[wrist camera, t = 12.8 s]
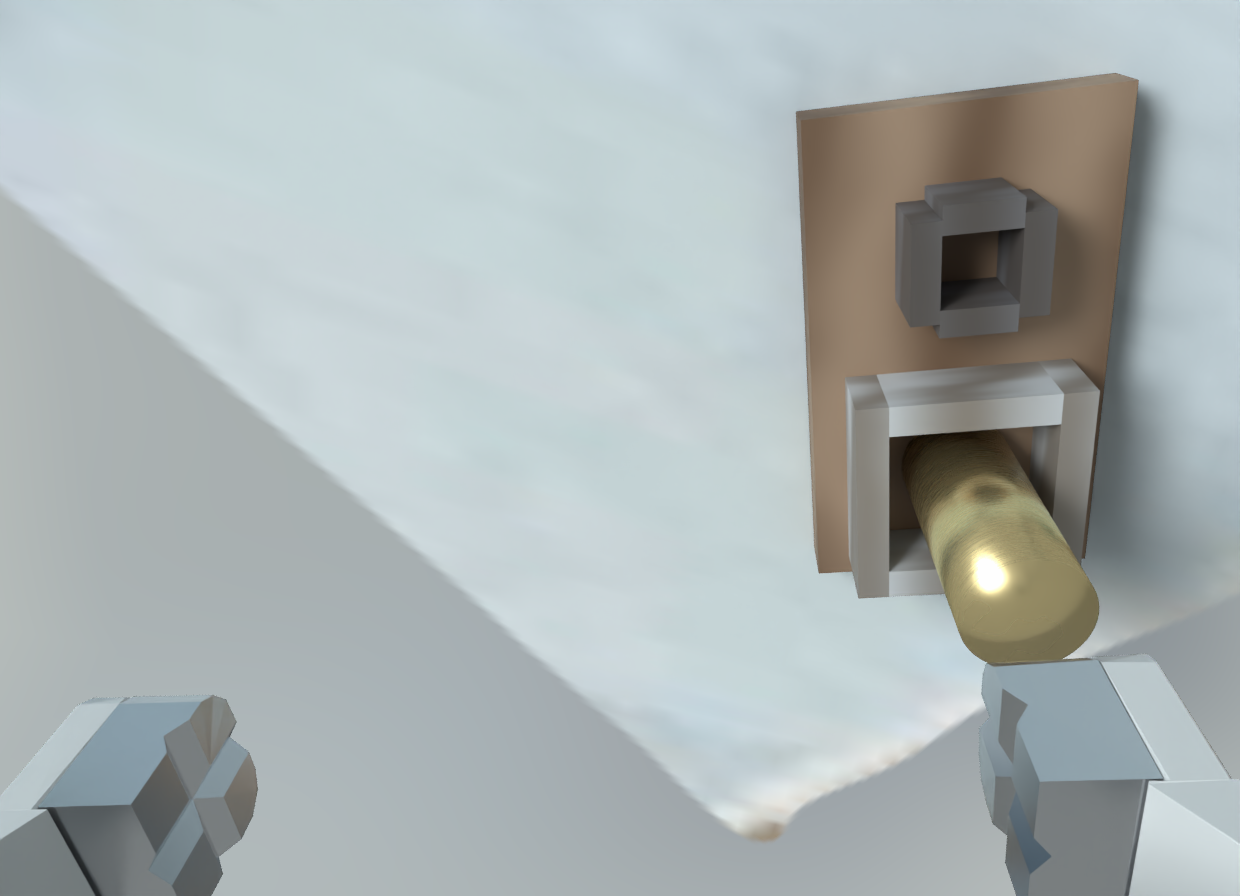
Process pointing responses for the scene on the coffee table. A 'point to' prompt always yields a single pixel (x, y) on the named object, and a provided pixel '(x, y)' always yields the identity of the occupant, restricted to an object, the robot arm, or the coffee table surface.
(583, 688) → the coffee table surface
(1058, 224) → the board
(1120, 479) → the coffee table surface
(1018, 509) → the brass cylinder rod
